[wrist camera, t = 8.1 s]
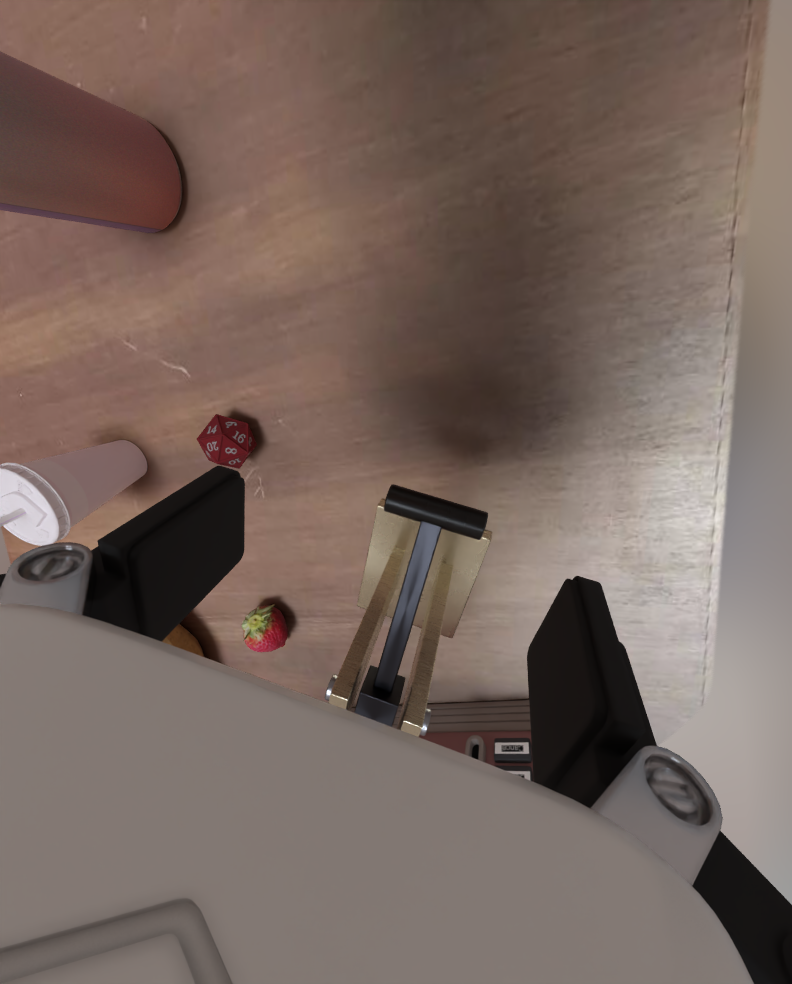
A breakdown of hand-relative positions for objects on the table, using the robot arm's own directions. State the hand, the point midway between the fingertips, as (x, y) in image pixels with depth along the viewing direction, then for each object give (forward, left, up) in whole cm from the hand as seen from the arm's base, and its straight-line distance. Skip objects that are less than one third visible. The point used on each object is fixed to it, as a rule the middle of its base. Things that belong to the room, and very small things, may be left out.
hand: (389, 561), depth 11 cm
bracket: (+14, +4, -18) cm, 24 cm away
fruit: (+28, -6, -19) cm, 34 cm away
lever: (+9, +3, -8) cm, 12 cm away
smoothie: (+18, -24, -19) cm, 36 cm away
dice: (+10, -14, -19) cm, 26 cm away
